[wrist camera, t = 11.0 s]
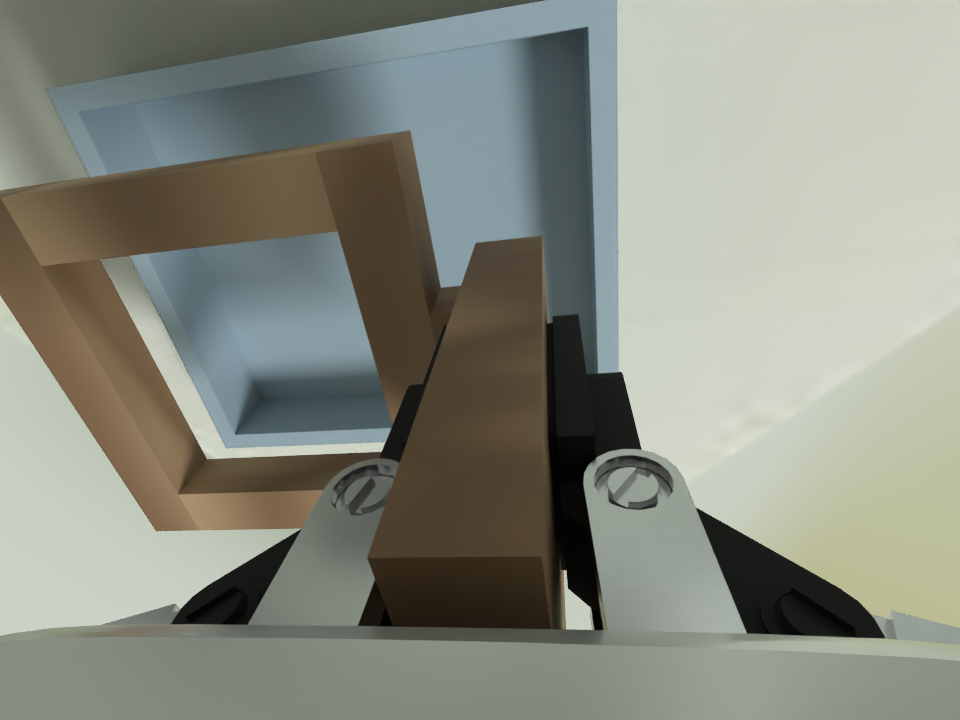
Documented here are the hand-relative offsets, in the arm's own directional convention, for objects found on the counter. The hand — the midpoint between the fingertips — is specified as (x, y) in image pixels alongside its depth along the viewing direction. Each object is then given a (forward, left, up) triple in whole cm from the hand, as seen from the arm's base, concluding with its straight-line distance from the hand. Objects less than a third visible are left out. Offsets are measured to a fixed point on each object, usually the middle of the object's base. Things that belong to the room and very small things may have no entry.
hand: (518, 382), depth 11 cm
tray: (0, -5, -9) cm, 11 cm away
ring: (0, -6, -2) cm, 6 cm away
